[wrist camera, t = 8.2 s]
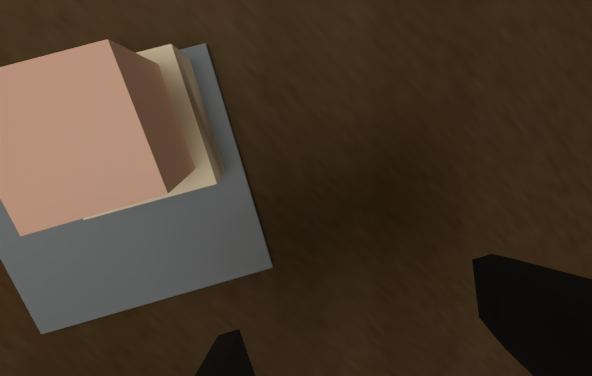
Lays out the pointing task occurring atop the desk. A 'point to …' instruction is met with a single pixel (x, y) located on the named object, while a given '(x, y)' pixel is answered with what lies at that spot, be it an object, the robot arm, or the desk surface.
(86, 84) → the terracotta cube
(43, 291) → the rubber mat
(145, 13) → the desk surface
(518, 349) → the robot arm
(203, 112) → the beech block
